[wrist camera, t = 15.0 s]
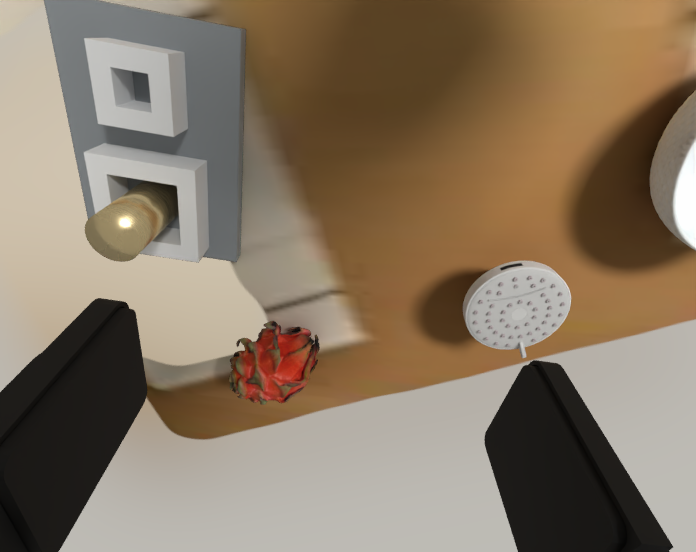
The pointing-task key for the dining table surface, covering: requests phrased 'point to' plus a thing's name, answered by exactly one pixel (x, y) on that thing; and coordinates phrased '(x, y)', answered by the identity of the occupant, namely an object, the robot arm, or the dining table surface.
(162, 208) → the gold rounded cylinder
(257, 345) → the dragon fruit
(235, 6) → the dining table surface
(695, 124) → the cereal bowl
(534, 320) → the showerhead
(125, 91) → the socket board
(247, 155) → the dining table surface
